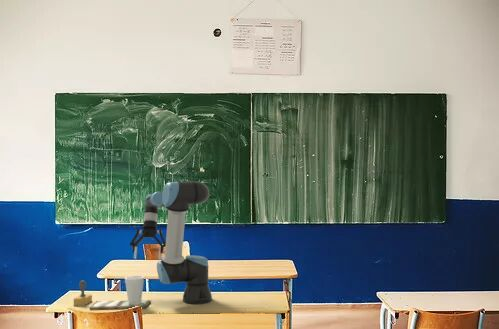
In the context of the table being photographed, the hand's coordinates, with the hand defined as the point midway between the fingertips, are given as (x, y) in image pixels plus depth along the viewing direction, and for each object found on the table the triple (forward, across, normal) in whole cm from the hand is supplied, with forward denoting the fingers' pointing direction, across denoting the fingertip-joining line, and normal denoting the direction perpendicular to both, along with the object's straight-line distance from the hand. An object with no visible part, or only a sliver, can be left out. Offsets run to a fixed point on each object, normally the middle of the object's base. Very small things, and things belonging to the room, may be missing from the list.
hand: (147, 258), depth 304 cm
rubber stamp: (+26, +29, +9) cm, 40 cm away
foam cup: (+26, +1, +14) cm, 30 cm away
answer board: (+27, +8, +14) cm, 32 cm away
